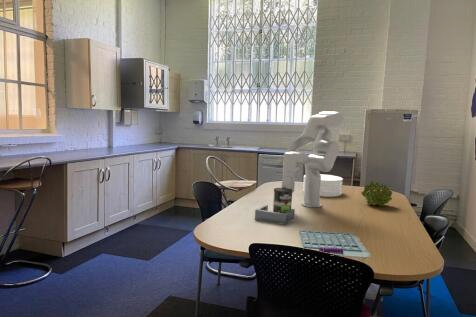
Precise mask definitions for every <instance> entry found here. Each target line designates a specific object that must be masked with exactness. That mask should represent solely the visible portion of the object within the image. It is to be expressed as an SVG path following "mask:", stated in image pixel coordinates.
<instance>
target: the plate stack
mask: <svg viewBox="0 0 476 317" xmlns="http://www.w3.org/2000/svg"><path fill="white" fill-rule="evenodd" d="M320 175H321V187H320V197H339V196H342V194H343V193H342V191H343V180H344V178H343V177H341V176H337V175H332V174H321V173H320ZM302 192H303V193H304V192H305V174H304V175H303V184H302Z"/></svg>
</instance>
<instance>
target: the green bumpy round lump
mask: <svg viewBox="0 0 476 317" xmlns="http://www.w3.org/2000/svg"><path fill="white" fill-rule="evenodd" d="M360 193H361V195H362V196H363V197H364V199H366V203H367V205H370V206H372V205H373V206H376V205H377V206H379V207H383V206H384V205H385V204H389V203H390V201H392V200H393V197H392V196H393V191H391V187H388V186H387V185H386V184H385V185H384V184H383V183H381V184H379V182H376V183H375V182H374V181H372V180H370V182H369V184H367V185H364V188H363V191H361V192H360Z"/></svg>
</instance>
